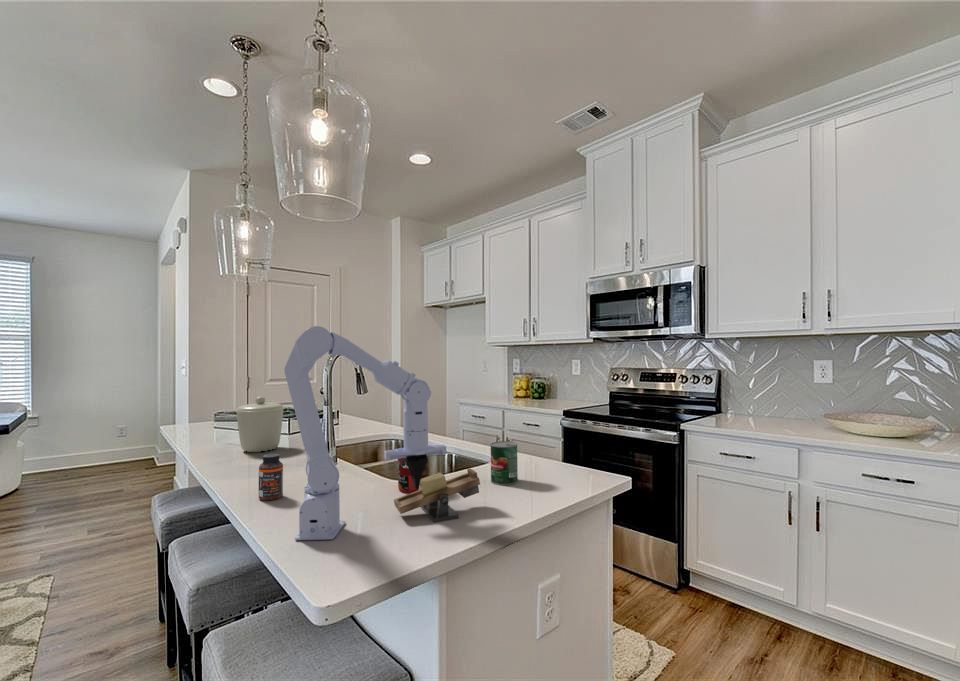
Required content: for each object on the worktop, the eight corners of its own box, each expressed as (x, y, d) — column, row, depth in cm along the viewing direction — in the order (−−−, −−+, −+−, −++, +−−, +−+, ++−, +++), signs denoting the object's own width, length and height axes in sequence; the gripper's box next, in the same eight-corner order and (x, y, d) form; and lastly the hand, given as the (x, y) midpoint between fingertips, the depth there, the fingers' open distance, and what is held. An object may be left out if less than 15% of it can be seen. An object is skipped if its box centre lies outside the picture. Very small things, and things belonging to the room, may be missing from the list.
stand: (433, 522, 103) (433, 499, 104) (419, 505, 115) (419, 484, 115) (458, 518, 106) (458, 495, 106) (442, 502, 117) (441, 481, 117)
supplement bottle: (260, 503, 118) (260, 458, 118) (256, 496, 123) (256, 454, 123) (285, 498, 122) (284, 455, 122) (280, 492, 127) (280, 451, 127)
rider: (424, 498, 107) (420, 484, 107) (419, 494, 110) (416, 480, 110) (447, 490, 109) (444, 476, 109) (443, 486, 113) (440, 472, 112)
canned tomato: (487, 484, 132) (486, 445, 132) (495, 476, 140) (494, 440, 140) (514, 486, 130) (513, 447, 130) (520, 478, 137) (520, 441, 137)
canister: (277, 443, 195) (277, 393, 195) (291, 450, 181) (291, 396, 181) (230, 449, 183) (229, 396, 183) (240, 457, 169) (240, 400, 169)
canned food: (395, 487, 130) (395, 448, 130) (423, 484, 133) (423, 445, 133) (401, 495, 123) (400, 454, 123) (430, 491, 126) (429, 451, 126)
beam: (402, 522, 104) (398, 502, 103) (396, 513, 109) (392, 494, 109) (482, 492, 112) (477, 473, 111) (472, 485, 117) (468, 467, 117)
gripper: (388, 435, 102) (389, 496, 102) (450, 429, 108) (451, 488, 107) (382, 430, 108) (382, 488, 108) (441, 425, 114) (441, 480, 114)
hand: (416, 487), depth 108 cm, fingers closed, pressing on rider
